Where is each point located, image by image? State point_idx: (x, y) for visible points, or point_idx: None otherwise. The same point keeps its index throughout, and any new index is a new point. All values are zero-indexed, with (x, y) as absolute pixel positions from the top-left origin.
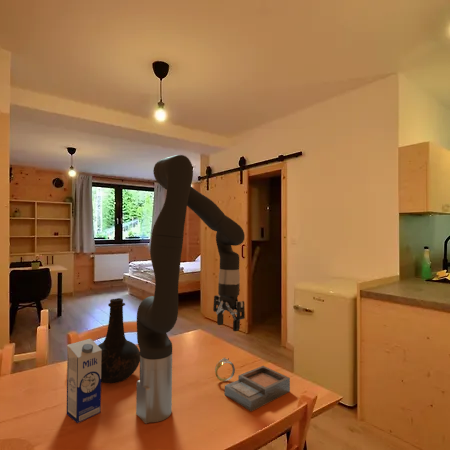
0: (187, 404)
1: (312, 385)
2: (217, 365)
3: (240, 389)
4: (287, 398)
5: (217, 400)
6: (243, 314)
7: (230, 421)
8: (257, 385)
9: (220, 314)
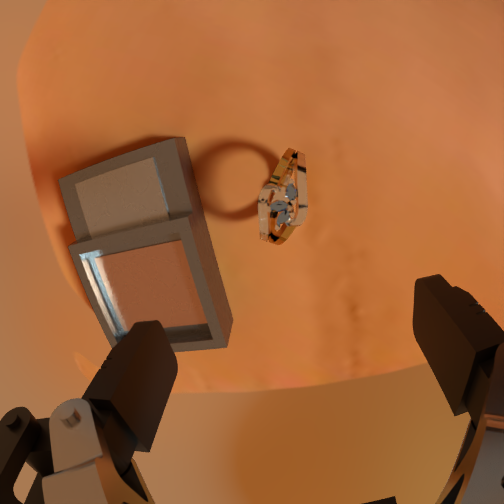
0: (190, 5)
1: None
2: (296, 163)
3: (120, 179)
4: None
5: (164, 99)
6: (34, 488)
7: (63, 102)
8: (94, 239)
9: (474, 383)
